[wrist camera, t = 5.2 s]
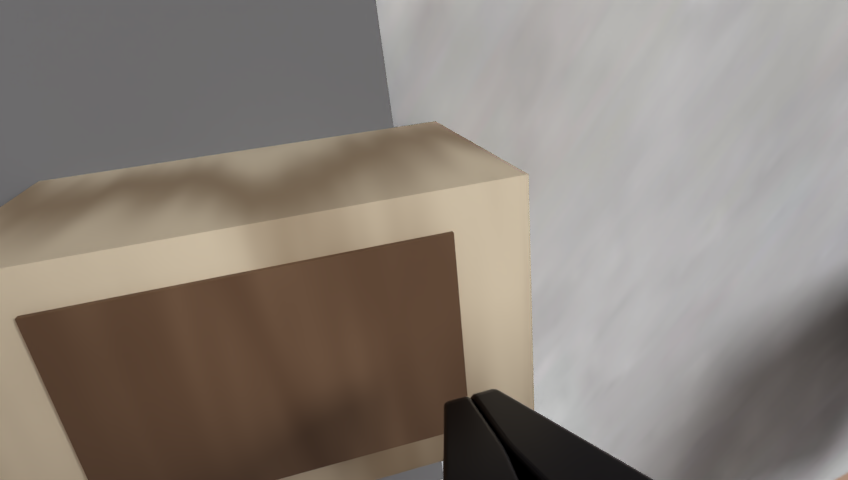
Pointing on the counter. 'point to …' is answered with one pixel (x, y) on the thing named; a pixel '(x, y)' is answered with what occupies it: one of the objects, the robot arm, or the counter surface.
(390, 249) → the birch block
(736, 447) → the counter surface
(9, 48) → the rubber mat
